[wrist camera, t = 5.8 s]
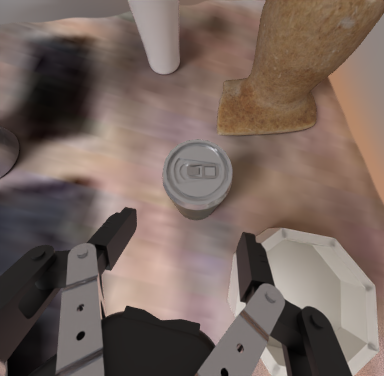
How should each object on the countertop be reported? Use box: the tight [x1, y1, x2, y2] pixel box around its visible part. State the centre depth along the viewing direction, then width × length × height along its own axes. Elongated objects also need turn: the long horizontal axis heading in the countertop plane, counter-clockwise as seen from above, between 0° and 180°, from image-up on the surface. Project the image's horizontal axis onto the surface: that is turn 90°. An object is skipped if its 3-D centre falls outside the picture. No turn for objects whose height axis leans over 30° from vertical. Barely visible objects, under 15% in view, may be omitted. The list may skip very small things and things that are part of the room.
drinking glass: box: [128, 0, 180, 74], centre depth 23 cm, size 7×7×15 cm
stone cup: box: [217, 0, 384, 135], centre depth 20 cm, size 15×12×15 cm
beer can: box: [162, 139, 233, 220], centre depth 18 cm, size 5×5×12 cm
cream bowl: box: [227, 228, 379, 376], centre depth 19 cm, size 13×13×4 cm
